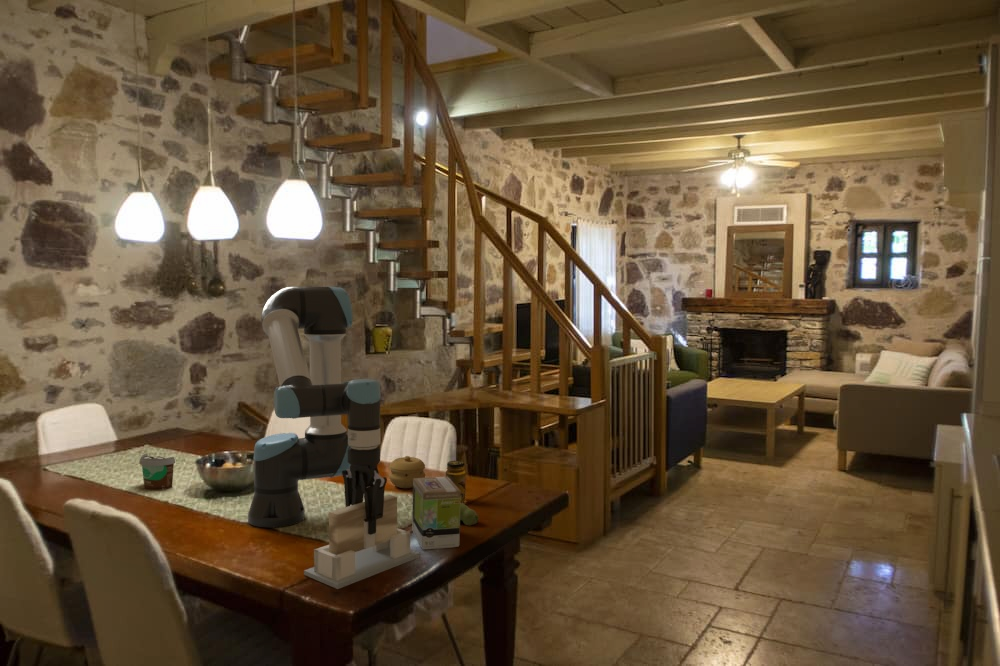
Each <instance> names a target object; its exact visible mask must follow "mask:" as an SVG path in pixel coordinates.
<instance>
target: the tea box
mask: <svg viewBox="0 0 1000 666" xmlns="http://www.w3.org/2000/svg"><path fill="white" fill-rule="evenodd" d="M460 500H461V491H460V490H459V488H458V487H457V486H456V485H455V484H454V483H453V482H452V481H451V479H450V478H449V477H446V476H433V477H432V476H431V477H425V478H413V488H412V515H411V516H412V521H411V523H412V524H411V525H412V526H411V529H412V532H413V534H414V537H415V539H416V541H417V543H418V545H419V546H420V548H421V549H422V550H423V551H424V550H438V549H450V548H459V546H460V537H461V536H460V532H461V531H460V530H461V529H460V528H461V520H460Z"/></svg>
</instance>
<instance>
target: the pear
mask: <svg viewBox="0 0 1000 666" xmlns="http://www.w3.org/2000/svg"><path fill="white" fill-rule="evenodd" d="M479 517H480V516H479V514H477V512H476V511H475V510H474V509H471V508H470V507H469V506H467V505H466V503H460V521H462V522H463V524H464V525H465V526H469V527H470V526H472V525H473V526H474V525H476V524H477V523H478V521H479V519H480V518H479Z"/></svg>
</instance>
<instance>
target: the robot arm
mask: <svg viewBox="0 0 1000 666" xmlns="http://www.w3.org/2000/svg"><path fill="white" fill-rule="evenodd" d="M353 313H354V312H353V307H352V303H351V299H350V296H349V293H348V292H347V291H346V290H345V289H344V288H342V287H337V286H287V287H283V288H281V289H280V290H278V291H276V292H275V293H273V294H272V295H271V296H270V297H269V298H268V299H267V301H266V303H265V305H264V306H263V308H262V311H261V317H260V322H261V326H262V330H263V332H264V334H265V335H266V336H267V337H268V339H269V344H270V348H271V353H272V357H273V362H274V367H275V371H276V376H277V380H278V384H279V386H277V387H275V389H274V392H273V407H274V409H273V410H274V414H275V416H276V417H277V418H278V419H300V418H309V421H310V422H309V425H308V426H307V428H306V429H305V430H304V437H302V438H301V437H300V438H299V436H298V434H297V433H294V432H287V433H286V432H282V433H281V432H280V433H275V434H271V435H268V436H265V437H263V438H260V439H258V440H257V442H255V445H254V450H253V458H252V459H253V461H254V462H253V463H254V464H253V466H254V467H253V469H254V470H253V471H254V473H253V474H254V475H253V476H254V477H253V478H254V480H253V481H254V484H253V486H254V492H253V496H252V500H251V503H250V506H249V511H248V512H247V513H248V514H247V522H248V524H249V525H251V526H254V527H257V528H268V529H269V528H271V529H272V528H282V527H287V526H292V525H295V524H298V523H301V522H302V521H304V519H305V516H306V515H305V511H306V510H305V507H304V503H303V501H302V498H301V495H300V492H299V481H304V480H313V479H314V480H315V479H323V478H330V479H331V478H334V477H339V476H342V478H343V483H344V484H343V486H344V499H345V500H344V503H345V506H344V507H348V506H351V505H355V504H358V503H362V502H365V510H366V519H364V548H365V549H367V548H370V547H373V546H375V533H376V520H377V519H379V518H382V517H383V507H384V496H385V489H386V484H387V481H388V480H387V479H388V478H387V477H385V476H384V477H382V476H381V475H380V472H379V469H378V465H379V463H380V462H381V447H380V445H381V439H382V438H381V399H382V393H381V383H380V382H379V381H378V380H377V379H371V378H357V379H351V380H350V381H348V380H347V381H344V382H343V381H342V370H341V368H342V365H341V364H342V360H341V359H342V357H341V355H342V352H341V351H342V350H341V349H342V348H341V347H342V346H341V344H342V343H341V341H342V339H343V338H344V337H345V336H347V329H349V328H351V327H352V325H353V318H354V317H353V315H354V314H353ZM298 329H303V336H305V337H306V339H307V340H308V341H309V367H308V363H307V359H306V356H305V353H304V348H303V345H302V340H301V338H300V337H301V336H300V333H299V330H298ZM342 415H344V416H345V415H346V416H347V428H346V427H345V426H344V425H343V424H342ZM371 514H372V515H371Z"/></svg>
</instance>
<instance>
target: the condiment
mask: <svg viewBox="0 0 1000 666" xmlns="http://www.w3.org/2000/svg"><path fill="white" fill-rule="evenodd" d="M445 477H449V478H450V479H451V481H452V482H453V483H454V484H455V485H456V486H457V487H458V488H459V490H460V491H461V500H460V503H462V502H464V501H465V499H466V470H465V462H464V461H462V460H449V461H448V462H447V463H446V471H445Z"/></svg>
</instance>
